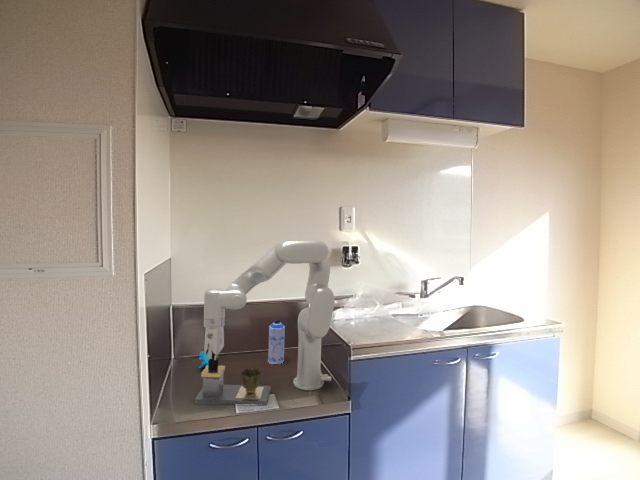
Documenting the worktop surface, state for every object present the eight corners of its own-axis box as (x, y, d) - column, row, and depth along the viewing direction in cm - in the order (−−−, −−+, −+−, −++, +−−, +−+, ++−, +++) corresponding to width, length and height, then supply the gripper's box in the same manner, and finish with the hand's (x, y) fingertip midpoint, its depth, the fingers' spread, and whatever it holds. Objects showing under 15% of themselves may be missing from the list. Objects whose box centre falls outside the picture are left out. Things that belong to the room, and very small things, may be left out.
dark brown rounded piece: (262, 387, 137) (262, 367, 136) (259, 397, 129) (259, 376, 129) (242, 387, 136) (243, 367, 136) (238, 396, 129) (239, 375, 129)
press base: (270, 389, 139) (271, 369, 138) (266, 405, 127) (266, 383, 126) (204, 387, 139) (205, 367, 138) (194, 403, 127) (194, 381, 126)
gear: (211, 370, 150) (197, 352, 152) (201, 379, 150) (187, 361, 152) (221, 364, 161) (208, 347, 163) (212, 372, 161) (199, 355, 163)
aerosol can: (287, 359, 169) (288, 319, 168) (279, 365, 162) (280, 323, 161) (273, 356, 172) (274, 316, 171) (264, 362, 165) (265, 320, 164)
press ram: (224, 385, 136) (225, 365, 136) (219, 394, 129) (220, 373, 129) (206, 385, 136) (207, 365, 136) (200, 394, 129) (201, 373, 129)
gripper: (218, 327, 124) (217, 378, 125) (229, 316, 139) (228, 361, 140) (197, 327, 124) (196, 377, 124) (210, 315, 138) (209, 361, 139)
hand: (213, 369), depth 132 cm, fingers closed
